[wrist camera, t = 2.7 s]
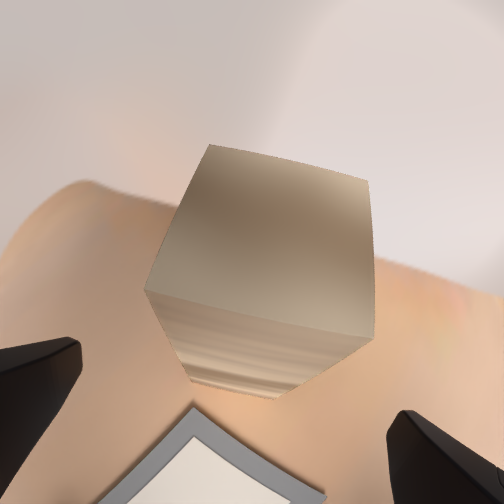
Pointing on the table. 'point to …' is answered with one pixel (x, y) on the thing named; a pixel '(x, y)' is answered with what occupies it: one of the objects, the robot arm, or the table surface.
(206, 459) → the mat
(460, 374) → the table surface
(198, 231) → the beech post
